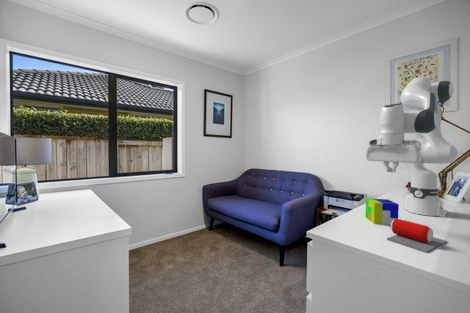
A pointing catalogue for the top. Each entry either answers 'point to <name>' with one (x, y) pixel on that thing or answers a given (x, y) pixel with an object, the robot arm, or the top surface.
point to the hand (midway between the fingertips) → (391, 172)
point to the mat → (417, 243)
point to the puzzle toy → (381, 211)
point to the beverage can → (412, 230)
